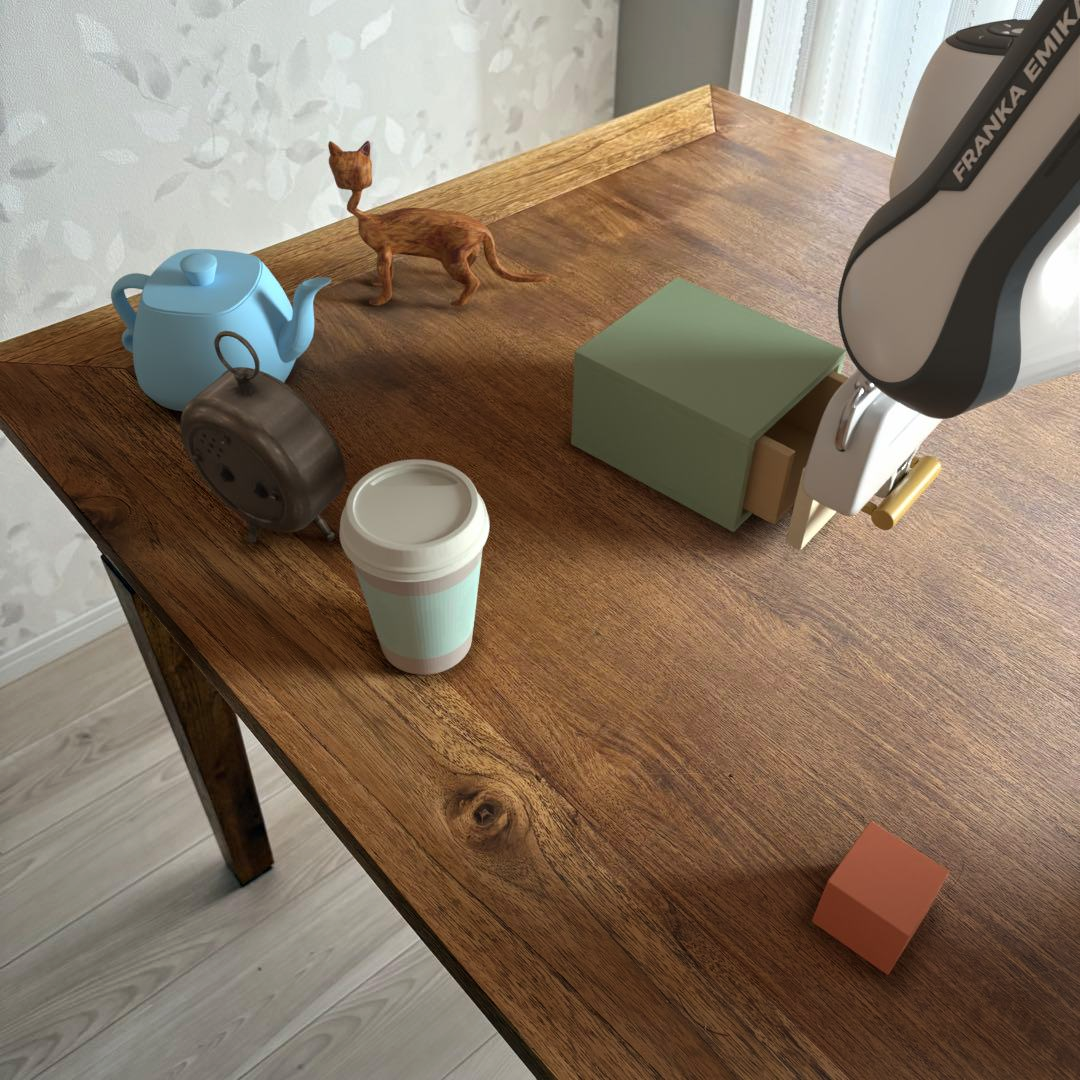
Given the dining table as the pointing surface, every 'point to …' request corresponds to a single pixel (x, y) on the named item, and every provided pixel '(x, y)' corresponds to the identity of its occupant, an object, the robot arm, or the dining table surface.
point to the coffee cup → (417, 559)
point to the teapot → (211, 321)
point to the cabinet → (692, 393)
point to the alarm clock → (263, 449)
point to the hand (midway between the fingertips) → (883, 483)
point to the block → (879, 896)
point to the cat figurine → (417, 232)
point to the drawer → (785, 463)
